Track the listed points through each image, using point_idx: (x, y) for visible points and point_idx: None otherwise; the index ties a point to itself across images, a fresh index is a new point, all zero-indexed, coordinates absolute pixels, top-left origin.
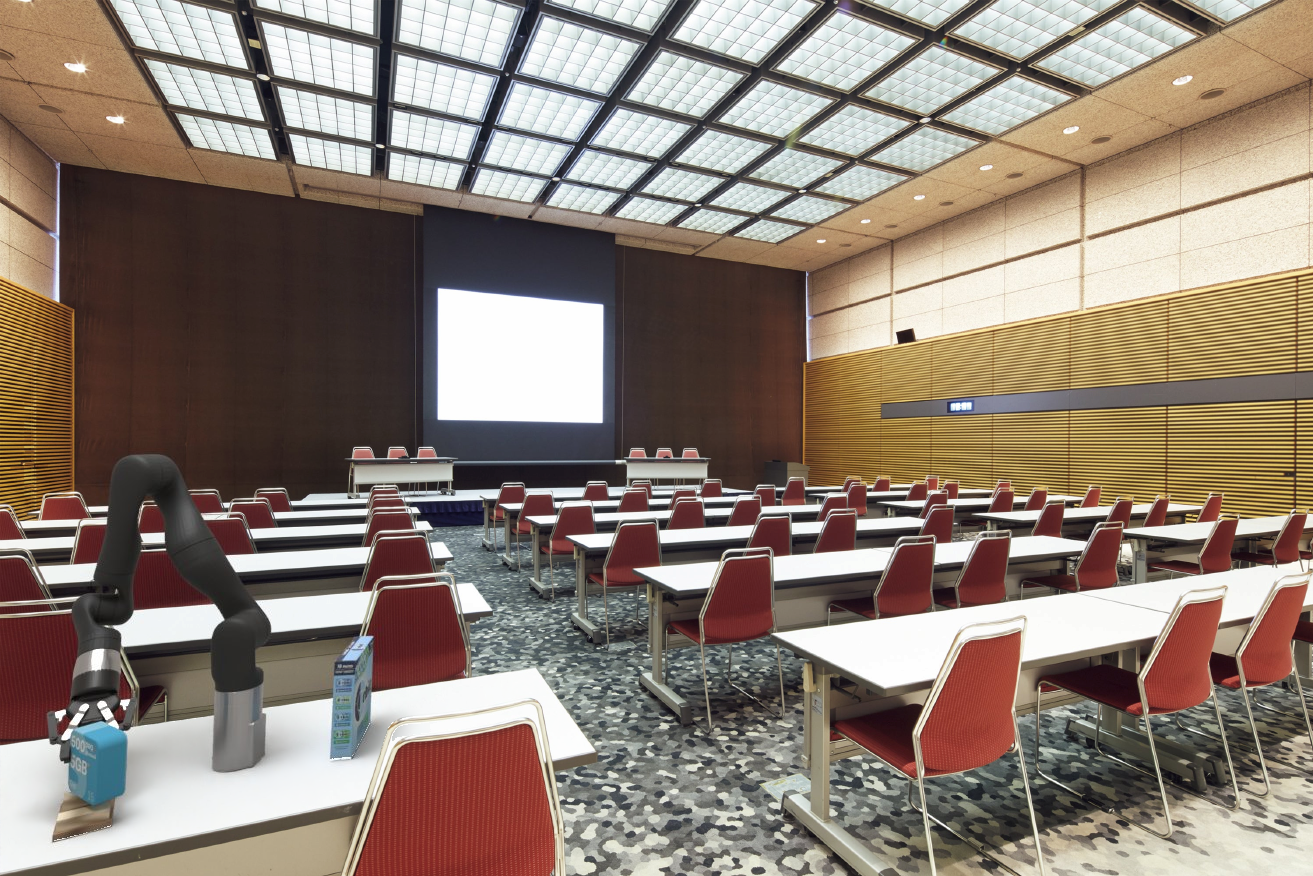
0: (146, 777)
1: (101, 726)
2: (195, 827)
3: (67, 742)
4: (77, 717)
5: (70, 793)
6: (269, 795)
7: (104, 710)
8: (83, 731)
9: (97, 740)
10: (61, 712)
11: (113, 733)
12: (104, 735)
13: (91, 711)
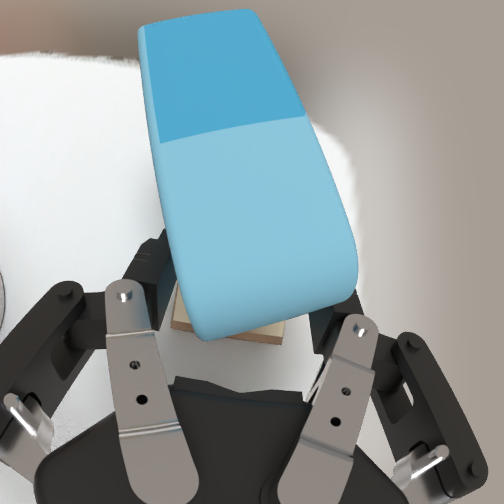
0: (106, 384)
1: (204, 160)
2: (108, 78)
3: (344, 302)
4: (342, 412)
5: (270, 325)
6: (7, 116)
7: (149, 415)
8: (306, 146)
9: (250, 10)
10: (421, 500)
11: (180, 30)
12: (217, 30)
13: (245, 465)
